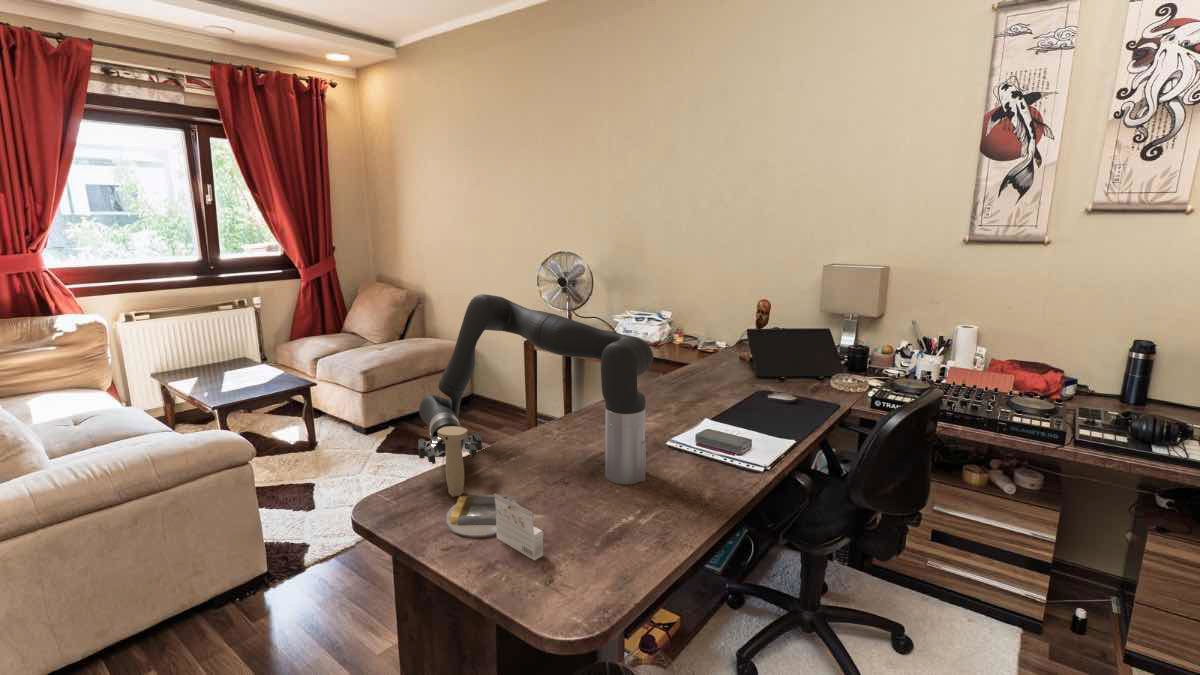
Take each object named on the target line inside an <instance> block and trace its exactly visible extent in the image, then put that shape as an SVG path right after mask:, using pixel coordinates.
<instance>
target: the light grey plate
mask: <svg viewBox="0 0 1200 675" xmlns="http://www.w3.org/2000/svg"><path fill="white" fill-rule="evenodd" d="M498 495H499V496H501V497H503V498H505V499H507V500H509V501H511V502H513V503H515V504H517V505H519V506H520V504H519V503H518V502H517V501H515V500H514V499H513V495H508V494H498ZM508 508H509V509H510V510H512V511H514V512H516V513H518V514H519V512H518V511H517V509H516V508H515V507H514V506H508ZM496 515H497V513H496V505H495V496H494V494H467V495H461V496H458V498H457V501H456V503H455V504H454V505H453V506H452V507H450V509H449V510H448V511H447V513H446V518H445V520H446V526H447V528H448V529H449V531H451V532H452V533H453V534H456V535H458V536H461V537H466V538H488V537H493V536H497V530H496Z"/></svg>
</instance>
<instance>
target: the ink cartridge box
mask: <svg viewBox="0 0 1200 675" xmlns="http://www.w3.org/2000/svg"><path fill="white" fill-rule="evenodd" d="M493 495H494V496H495V505H496V513H497V515H496V530H497V535H496V539H497V540H499V541H500V542H502V543H504V544H505V545H508V547H511V548H513V549H514V550H516V551H518V552H519V553H521V554H522V555H524V556H526V557H527V558H529V559H531V560H532V561H537V560H538V559H540V558H542V557H543V556H544V543H543V542H544V531H543V530H542V529H539V528H538V527H536V526H535V525H534V512H533V511H531V510H528V509H527V508H525V507H522V506H521V505H520V504H519V505H517V504H515V503H513V502H511V501H509V500H507V499H505V498H503V497H501V496H499V495H500V494H496V493H494V492H493ZM508 506H514V507H515V508H516V509H517V511H518V512H519V514H518V513H516V512H514V511H512V510H510V509H509V508H508Z"/></svg>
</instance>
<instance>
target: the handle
mask: <svg viewBox="0 0 1200 675" xmlns="http://www.w3.org/2000/svg"><path fill="white" fill-rule="evenodd" d="M467 436H468V428H465V427H462V426H461V427H457V426H448V427H443V428H441V429H439V430H438V437H439V438H440V439H442V440H444V441H445V446H446V452H445V478H446V479H445V480H446V484H447V491H448V495H450V497H454V498H455V497H459V496H462V494H464V492H465V487H464V486H465V463H464V458H463V452H462V448H461V440H463V439H464V438H466V437H467Z"/></svg>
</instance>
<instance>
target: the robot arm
mask: <svg viewBox="0 0 1200 675" xmlns="http://www.w3.org/2000/svg"><path fill="white" fill-rule="evenodd" d="M485 331H495V332H505V333H509V334H510V333H511V334H515V335H517V336H519V337H520V336H521V337H523V338H524V339H526V341H528V342H529V343H531V344H532V345H533V346H535V347H537V348H539V349H540V350H544V351H546V352H548V353H549V352H550V353H552V354H554V355H558V356H561V357H562V356H563V357H570V358H585V359H586V358H589V359H596V360H600V379H601V380H600V381H601V394H602V396H603V400H604V402H605V404H604V405H605V406H604V407H605V415H604V416H605V417H604V418H605V427H604V429H605V431H604V432H605V434H604V435H605V441H604V443H605V444H604V445H605V448H604V449H605V452H604V453H605V456H604V458H605V461H604V462H605V463H604V466H605V467H604V470H605V472H604V474H605V478H606V480H608V481H609V482H611V483H613V484H618V485H624V486H625V485H627V486H628V485H634V484H638V483H640V482H646V466H647V465H646V460H647V458H646V456H647V455H646V454H647V452H646V450H647V446H646V445H647V444H646V396H645V394H643V393H642V392H640V391H638V390H639V389H638V377H639V376H642V375H643V374H644V373H646V372H647V371H648V370H649V369H650V368H651V367H652V365H653V361H654V353H653V351H652V348H651V347H650V345H649V344H648V343H647V342H646V341H644V340H643V339H641V338H640V337H637V336H632V335H626V334H622V333H617V332H613V331H607V330H603V329H600V328H597V327H594V326H591V325H589V324H585V323H582V322H580V321H577V320H573V319H571V318H568V317H564V316H562V315H559V314H555V313H551V312H547V311H542V310H535V309H530V308H527V307H524V306H523V305H519V304H518V303H516V302H513V301H511V300H509V299H507V298H506V297H502V296H498V295H492V294H487V293H486V294H484V293H480V294H477V295H475V296H474V297H472V298H471V300H470V302H469V303H468V306H467V307H466V310H465V312H464V316H463V319H462V322H461V326H460V330H459V333H458V336H457V339H456V343H455V345H454V349H453V352H452V354H451V357H450V360H449V361H448V364H447V365H446V367H445V369H444V371H443V374H442V375H441V377H440V379H439V382H438V384H437V387H438V389H439V391H440V392H441V393H442V394H444V395H445V396H447V397H448V399H447V398H445V397H441V396H439V395H435V394H428V395H426V396H425V397H424V398H422V400H421V402H420V404H419V408H418V412H419V416H420V419H421V420H422V421H423V422H424V423H425V424H426V425H427V426H428V427H429V436H430V440H429V441H427V440H425V439H424V438H419V439H418V441H417V442H418V457H419V459H424V458H425V457H426V458H427V460H428V462H429V463H432V465H435V464H436V457H438V456H440V455H442V454H443V453H446V446H445V441H444V440H442V439H440V438H439V437H438V430H439V429H441V428H443V427H448V426H457V427H462V426H461V424H460V421H459V420H458V418H459V414H460V406H461V402H462V399H463V394H464V392H465V389H467V387H468V384H469V382H470V380H471V378H472V375H473V373H474V370H475V367H476V366H475V364H476V360H475V359H476V356H475V355H476V353H475V352H476V346H477V343H478V341H479V339H480V337H481V336H482V334H483V333H484V332H485ZM449 398H450V399H449ZM461 448H462V453H466V452H468V453H469V456H470V458H471V459H475V456H477V455H478V452H477V451H482V450H483V438H482V437H481V436H480V434H479V433H478V431H472V434H470V435H467V437H466V438H464V439H463V440H461Z"/></svg>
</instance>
